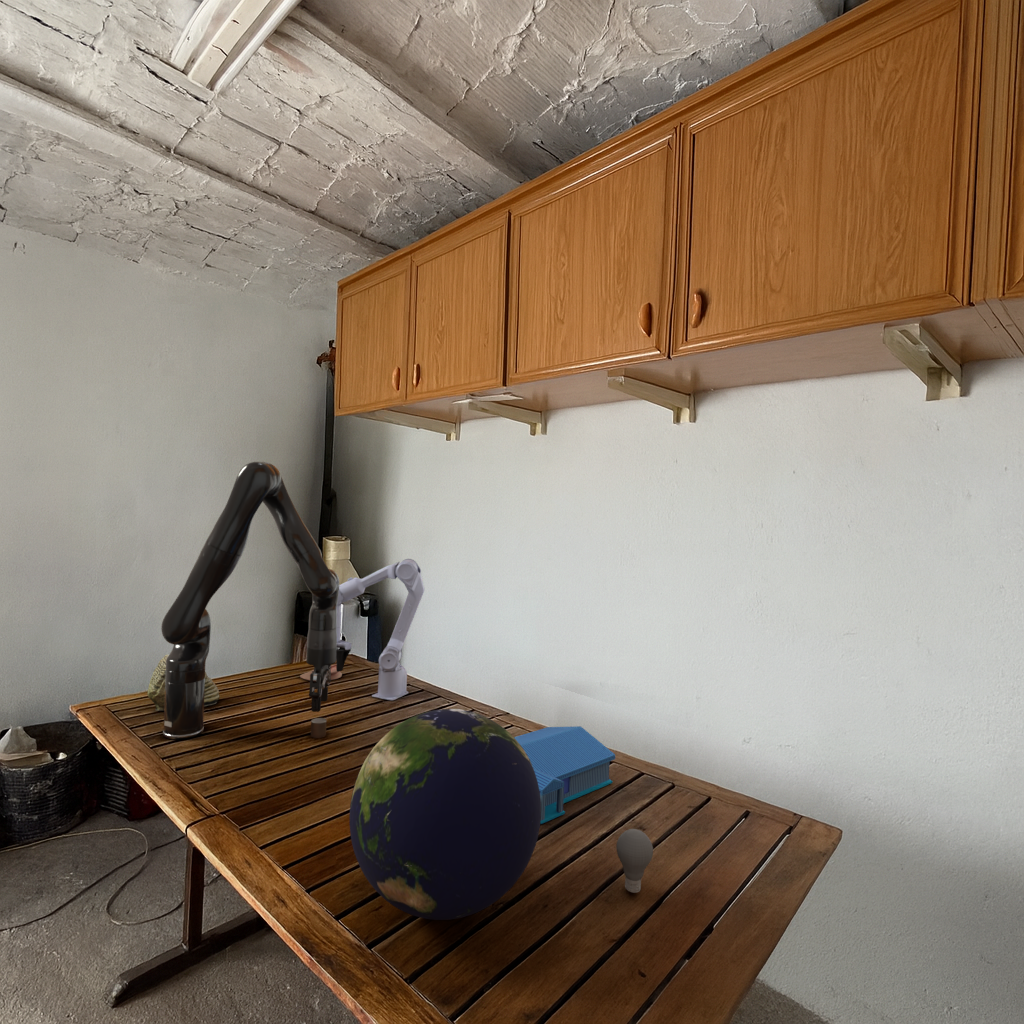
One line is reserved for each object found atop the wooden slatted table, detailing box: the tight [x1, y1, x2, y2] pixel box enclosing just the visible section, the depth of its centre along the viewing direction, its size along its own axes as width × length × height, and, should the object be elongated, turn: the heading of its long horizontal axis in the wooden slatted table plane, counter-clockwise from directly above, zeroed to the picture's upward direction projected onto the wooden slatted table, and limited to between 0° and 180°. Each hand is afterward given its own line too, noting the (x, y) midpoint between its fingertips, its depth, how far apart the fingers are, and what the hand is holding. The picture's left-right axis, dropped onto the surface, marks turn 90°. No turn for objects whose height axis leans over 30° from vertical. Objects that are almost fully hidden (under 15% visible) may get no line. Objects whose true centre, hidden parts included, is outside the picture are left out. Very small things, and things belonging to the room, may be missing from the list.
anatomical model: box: [299, 663, 343, 681], centre depth 220 cm, size 13×4×12 cm
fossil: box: [147, 654, 221, 712], centre depth 185 cm, size 9×18×15 cm, turn 132°
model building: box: [513, 725, 616, 825], centre depth 140 cm, size 39×24×10 cm, turn 132°
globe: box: [349, 708, 541, 921], centre depth 100 cm, size 30×30×30 cm
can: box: [310, 717, 327, 739], centre depth 167 cm, size 4×4×4 cm
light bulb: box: [615, 828, 654, 894], centre depth 106 cm, size 6×6×10 cm
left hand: (319, 706), depth 167 cm, fingers open, 8 cm apart
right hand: (330, 669), depth 202 cm, fingers open, 7 cm apart
